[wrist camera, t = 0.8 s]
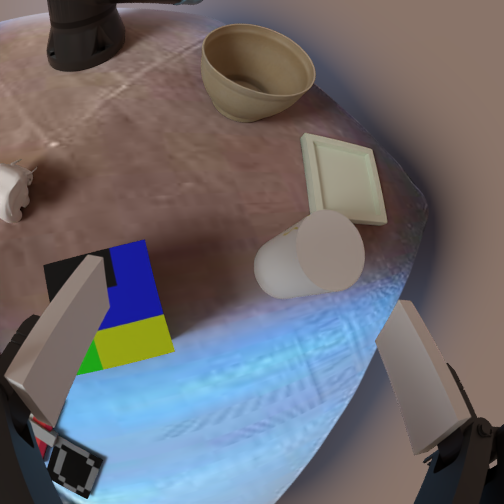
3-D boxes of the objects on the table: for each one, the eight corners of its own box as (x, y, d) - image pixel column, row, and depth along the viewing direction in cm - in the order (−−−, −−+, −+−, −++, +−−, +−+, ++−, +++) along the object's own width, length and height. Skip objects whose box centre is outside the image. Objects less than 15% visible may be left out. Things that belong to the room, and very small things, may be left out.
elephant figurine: (53, 177, 31) (37, 151, 25) (20, 241, 28) (-5, 226, 22) (17, 161, 30) (-1, 135, 23) (-14, 220, 27) (-39, 203, 20)
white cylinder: (309, 242, 41) (362, 217, 30) (308, 300, 39) (365, 293, 28) (255, 234, 39) (296, 202, 28) (252, 296, 37) (294, 288, 26)
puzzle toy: (148, 259, 34) (144, 239, 24) (170, 340, 33) (175, 351, 23) (72, 278, 30) (43, 265, 21) (93, 359, 29) (70, 376, 20)
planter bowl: (266, 68, 46) (290, 27, 36) (299, 136, 45) (333, 97, 35) (181, 71, 41) (192, 22, 30) (203, 147, 39) (220, 98, 29)
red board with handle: (85, 503, 23) (114, 431, 28) (82, 513, 20) (112, 439, 25) (-67, 385, 18) (-49, 306, 23) (-76, 387, 15) (-59, 304, 20)
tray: (300, 138, 45) (305, 132, 43) (366, 153, 49) (371, 149, 47) (310, 219, 42) (317, 216, 40) (380, 225, 46) (387, 222, 45)
